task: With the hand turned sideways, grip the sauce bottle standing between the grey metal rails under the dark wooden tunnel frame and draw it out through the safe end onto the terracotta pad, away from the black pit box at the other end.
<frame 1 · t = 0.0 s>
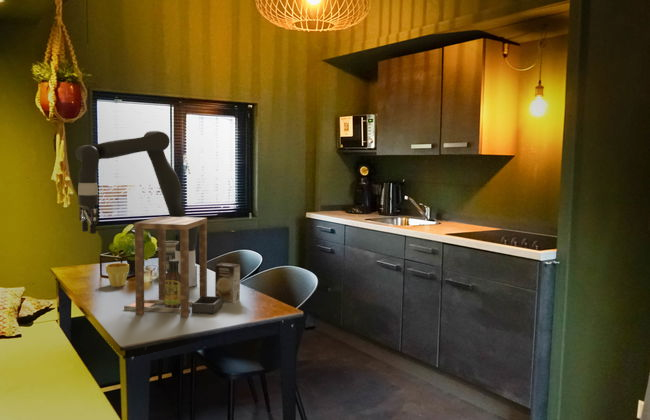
hand: (89, 232, 231), 29 cm above the table, tool pointing down, fingers open, 8 cm apart
tunnel frame: (173, 308, 225), on the table
plant pot: (117, 285, 263), on the table
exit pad: (140, 306, 226), on the table
sauce bottle: (173, 308, 225), on the table
pit box: (207, 309, 223), on the table
apothecary jar: (171, 276, 284), on the table
coffee box: (227, 301, 237), on the table
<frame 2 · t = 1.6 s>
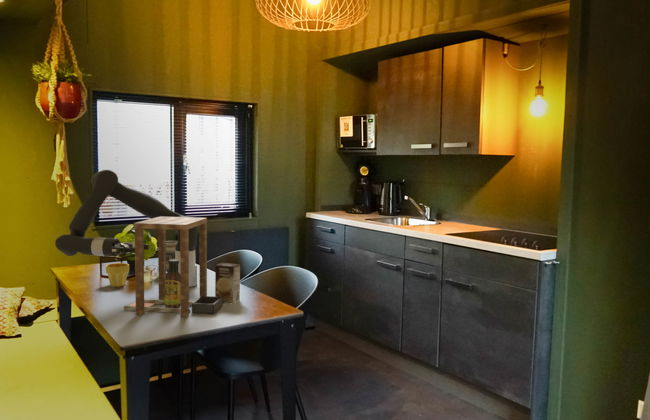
hand: (143, 248, 224), 24 cm above the table, tool horizontal, fingers open, 8 cm apart
nothing on the table moved.
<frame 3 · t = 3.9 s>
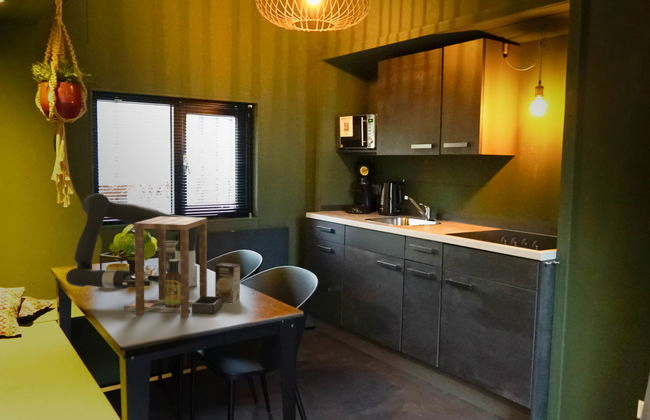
hand: (154, 280, 225), 11 cm above the table, tool horizontal, fingers open, 8 cm apart
nothing on the table moved.
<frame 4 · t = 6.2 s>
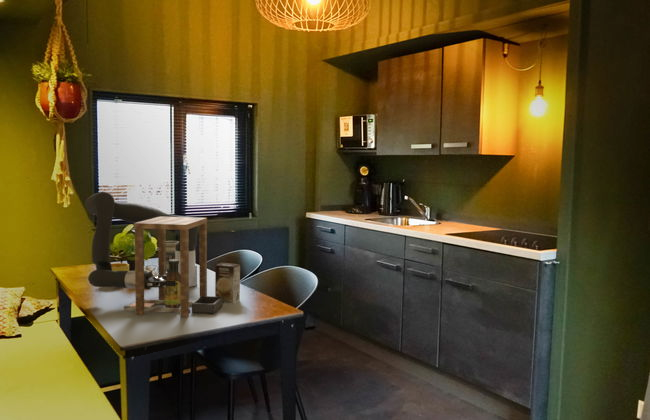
hand: (178, 281, 224), 11 cm above the table, tool horizontal, fingers closed on sauce bottle, 6 cm apart
sauce bottle: (173, 308, 225), on the table, touching gripper
everything else where it was.
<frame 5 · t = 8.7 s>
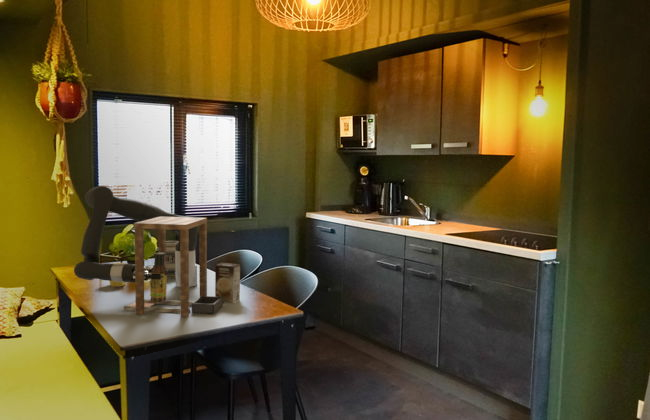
hand: (164, 274, 224), 14 cm above the table, tool horizontal, fingers closed on sauce bottle, 6 cm apart
sauce bottle: (158, 301, 225), point 2 cm above the table, touching gripper
everything else where it was.
when the fingers open (12 cm above the table, at t = 11.2 s): sauce bottle stays where it is, resting on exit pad.
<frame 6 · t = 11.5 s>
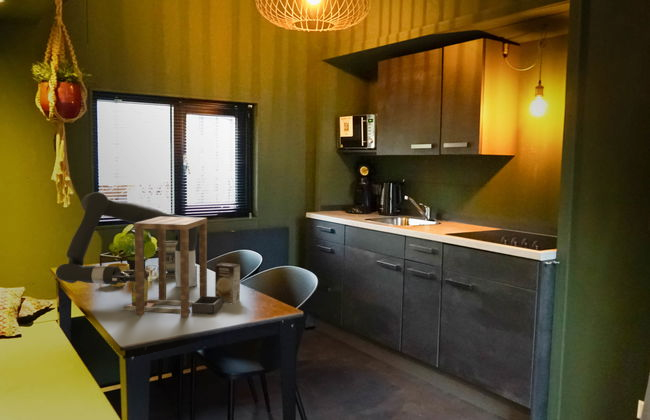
hand: (144, 276, 225), 13 cm above the table, tool horizontal, fingers open, 8 cm apart
sauce bottle: (139, 305, 226), resting on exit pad
everything else where it was.
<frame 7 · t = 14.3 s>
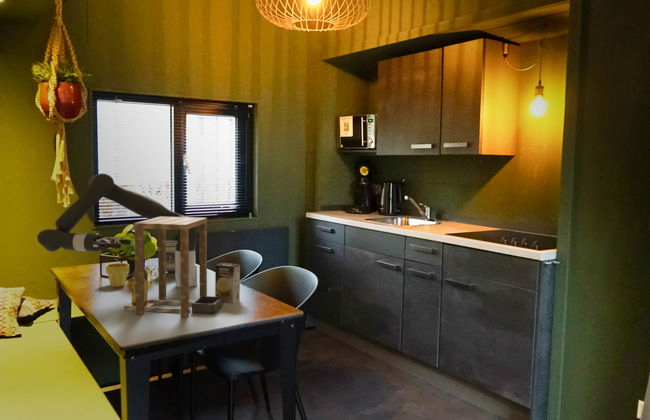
hand: (125, 243, 225), 26 cm above the table, tool horizontal, fingers open, 8 cm apart
nothing on the table moved.
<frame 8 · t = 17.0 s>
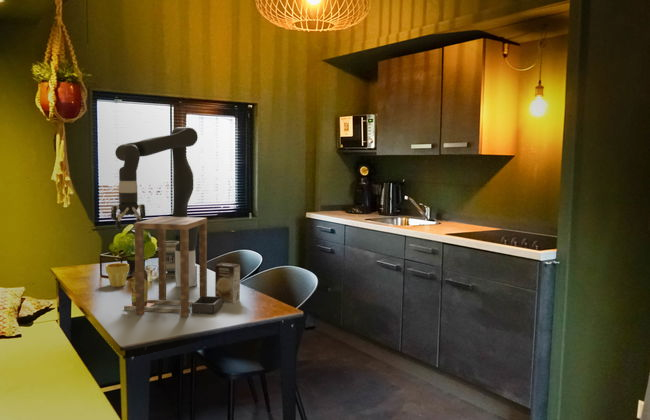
hand: (128, 229, 237), 30 cm above the table, tool pointing down, fingers open, 8 cm apart
nothing on the table moved.
at the end: sauce bottle 0.1 cm from the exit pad (horizontally); sauce bottle tilted 0°; the gripper is holding nothing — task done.
